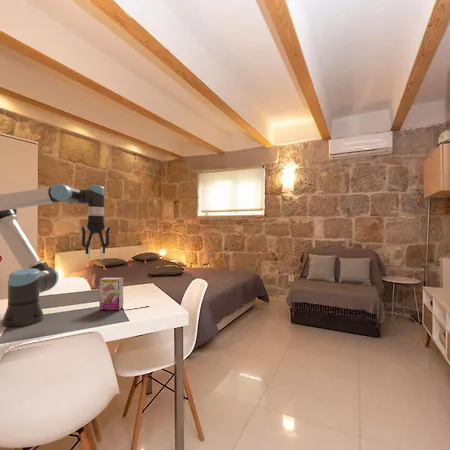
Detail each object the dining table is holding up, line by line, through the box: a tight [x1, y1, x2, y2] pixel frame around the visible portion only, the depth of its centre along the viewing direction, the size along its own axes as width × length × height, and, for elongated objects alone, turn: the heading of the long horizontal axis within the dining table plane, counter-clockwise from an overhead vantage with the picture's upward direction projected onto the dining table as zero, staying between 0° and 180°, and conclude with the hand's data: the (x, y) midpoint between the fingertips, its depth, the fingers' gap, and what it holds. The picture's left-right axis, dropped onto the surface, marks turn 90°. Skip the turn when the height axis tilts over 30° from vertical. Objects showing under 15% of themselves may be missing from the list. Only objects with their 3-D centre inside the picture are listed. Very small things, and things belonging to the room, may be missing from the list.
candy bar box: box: [98, 277, 124, 311], centre depth 146 cm, size 11×5×16 cm, turn 84°
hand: (95, 260), depth 142 cm, fingers open, 5 cm apart
